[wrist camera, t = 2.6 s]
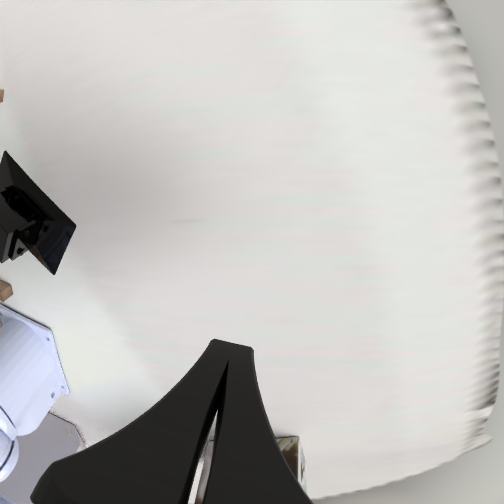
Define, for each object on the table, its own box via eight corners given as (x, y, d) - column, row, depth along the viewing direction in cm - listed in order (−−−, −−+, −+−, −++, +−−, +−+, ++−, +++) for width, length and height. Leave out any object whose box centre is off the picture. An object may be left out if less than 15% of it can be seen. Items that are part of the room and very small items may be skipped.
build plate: (-16, 200, 19) (-52, 216, 15) (5, 129, 16) (-38, 138, 12) (69, 292, 21) (37, 323, 17) (103, 226, 18) (62, 254, 14)
